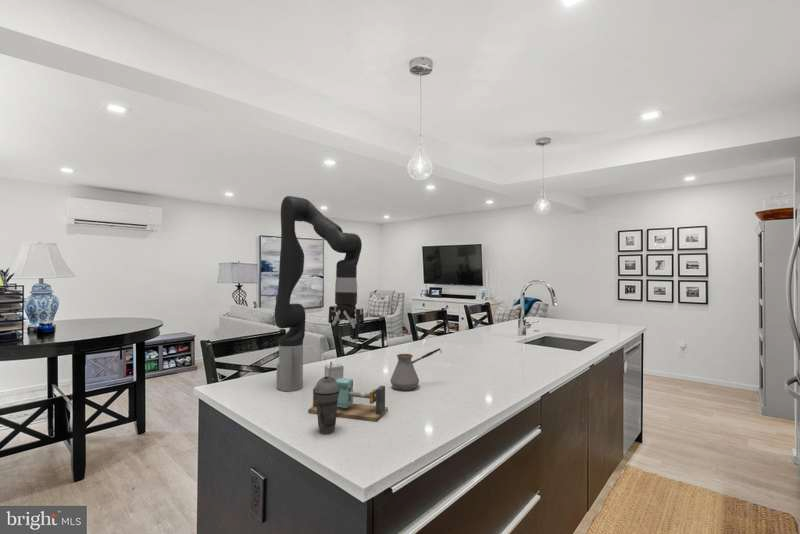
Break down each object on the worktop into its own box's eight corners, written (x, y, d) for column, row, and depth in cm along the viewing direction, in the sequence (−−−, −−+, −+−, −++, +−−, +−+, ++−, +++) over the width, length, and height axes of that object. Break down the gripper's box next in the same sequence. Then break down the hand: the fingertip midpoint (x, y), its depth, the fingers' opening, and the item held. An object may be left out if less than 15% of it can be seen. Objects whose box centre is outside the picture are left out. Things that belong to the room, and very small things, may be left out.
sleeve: (332, 406, 127) (332, 381, 127) (339, 401, 132) (339, 377, 132) (346, 407, 126) (346, 383, 126) (353, 402, 130) (353, 378, 130)
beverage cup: (315, 426, 116) (316, 359, 117) (340, 425, 117) (340, 358, 117) (312, 436, 109) (312, 365, 109) (338, 435, 110) (338, 364, 110)
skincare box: (327, 401, 139) (327, 367, 139) (324, 397, 142) (324, 365, 143) (343, 398, 141) (343, 365, 142) (339, 395, 145) (340, 363, 145)
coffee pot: (393, 393, 148) (394, 353, 148) (387, 384, 159) (387, 347, 159) (446, 389, 153) (446, 351, 153) (437, 381, 164) (437, 345, 165)
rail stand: (308, 413, 127) (308, 385, 127) (323, 403, 136) (323, 377, 137) (377, 421, 120) (377, 392, 120) (387, 410, 129) (387, 383, 129)
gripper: (323, 290, 136) (322, 336, 136) (354, 292, 127) (353, 341, 127) (338, 289, 142) (337, 333, 142) (369, 291, 134) (368, 338, 134)
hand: (345, 337), depth 135 cm, fingers open, 8 cm apart
